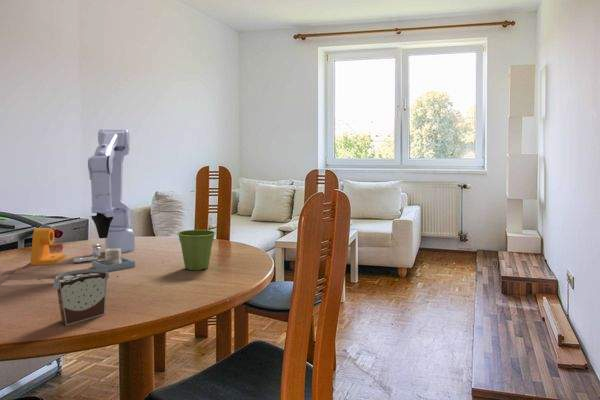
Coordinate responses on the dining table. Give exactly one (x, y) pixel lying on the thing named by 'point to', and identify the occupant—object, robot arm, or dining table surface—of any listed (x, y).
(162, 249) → the dining table surface
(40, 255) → the bracket
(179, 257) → the dining table surface
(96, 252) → the crank
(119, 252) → the block
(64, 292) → the food container
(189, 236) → the plant pot
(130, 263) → the tray
